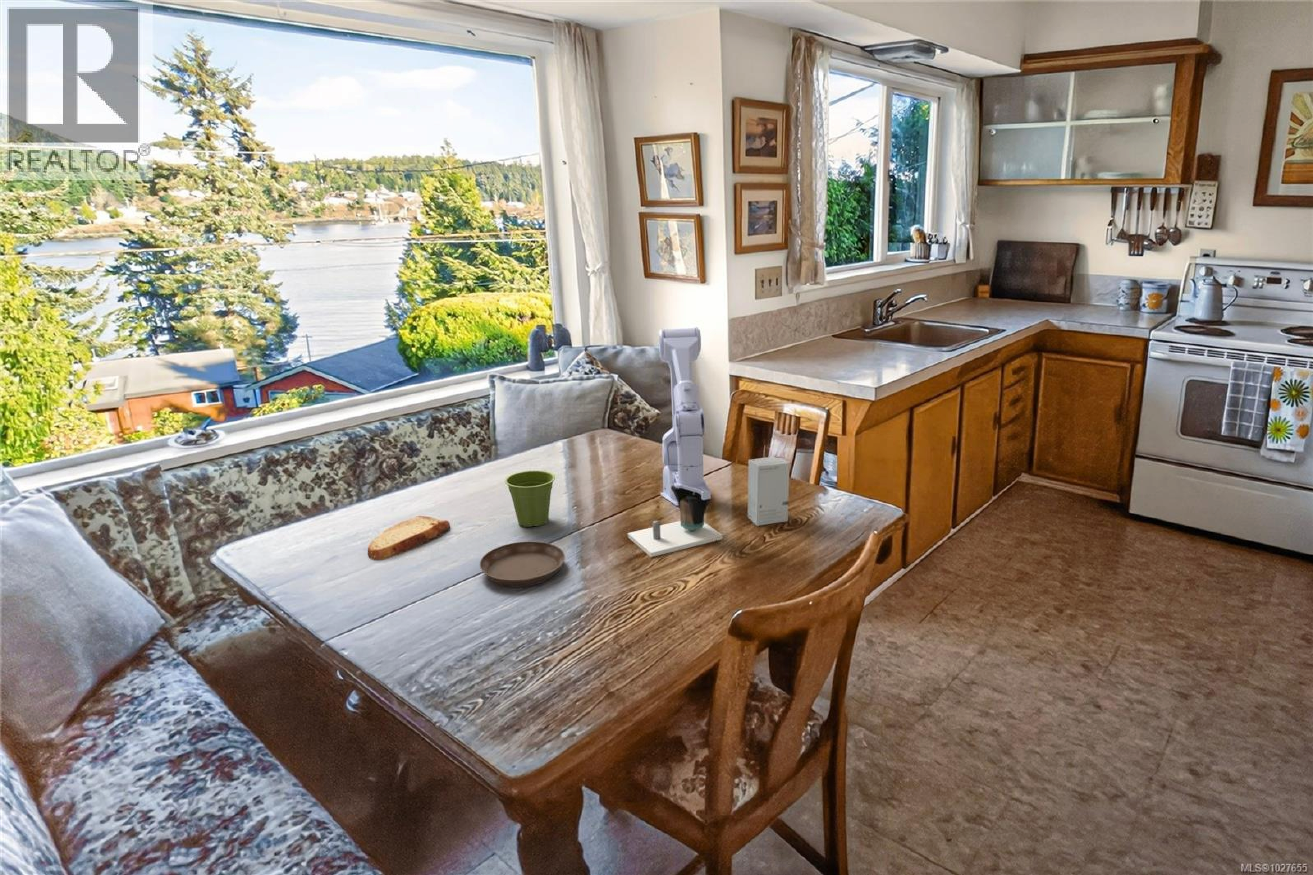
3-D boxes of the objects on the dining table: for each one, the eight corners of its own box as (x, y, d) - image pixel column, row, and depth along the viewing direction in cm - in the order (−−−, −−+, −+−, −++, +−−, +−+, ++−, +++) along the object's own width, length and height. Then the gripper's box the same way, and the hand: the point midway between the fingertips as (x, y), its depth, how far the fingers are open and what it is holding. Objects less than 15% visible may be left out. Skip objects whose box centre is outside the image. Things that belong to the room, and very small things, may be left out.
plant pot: (549, 533, 182) (545, 488, 179) (501, 530, 185) (497, 486, 181) (564, 513, 193) (561, 470, 190) (519, 511, 196) (515, 469, 192)
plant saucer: (583, 568, 165) (582, 555, 164) (516, 601, 152) (515, 587, 151) (529, 546, 176) (528, 534, 175) (463, 575, 164) (462, 562, 163)
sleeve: (677, 523, 179) (677, 499, 178) (696, 519, 181) (696, 495, 180) (688, 531, 175) (687, 506, 173) (707, 526, 177) (707, 502, 175)
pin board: (627, 537, 178) (626, 516, 177) (696, 520, 186) (696, 501, 184) (650, 557, 168) (650, 535, 167) (722, 539, 176) (722, 518, 174)
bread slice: (365, 563, 171) (363, 547, 170) (374, 531, 188) (372, 517, 187) (449, 552, 175) (447, 537, 174) (450, 522, 192) (448, 507, 191)
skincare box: (757, 526, 181) (757, 466, 177) (746, 517, 187) (746, 458, 182) (789, 521, 184) (790, 462, 179) (778, 512, 189) (779, 454, 185)
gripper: (659, 457, 178) (661, 511, 182) (690, 475, 166) (691, 534, 170) (686, 451, 181) (688, 505, 185) (718, 469, 169) (719, 527, 173)
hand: (691, 519), depth 178 cm, fingers closed on sleeve, 5 cm apart
